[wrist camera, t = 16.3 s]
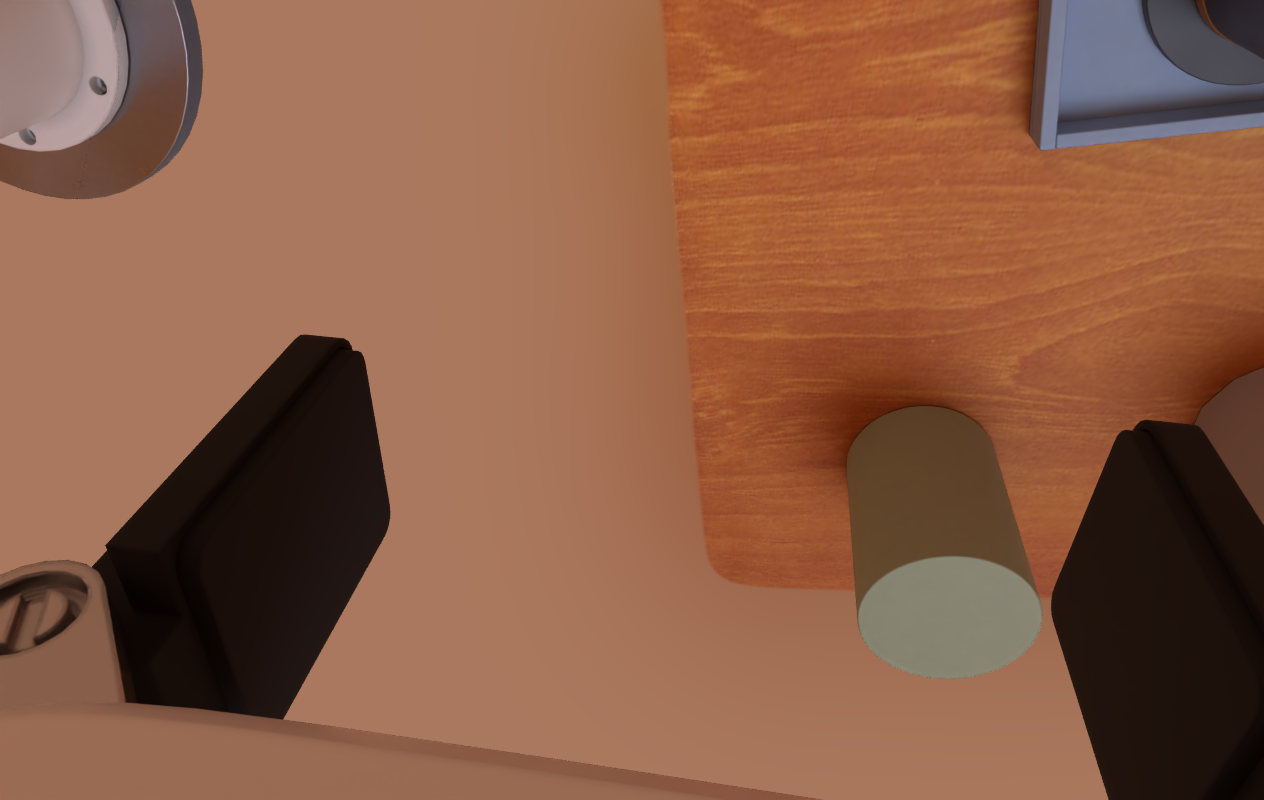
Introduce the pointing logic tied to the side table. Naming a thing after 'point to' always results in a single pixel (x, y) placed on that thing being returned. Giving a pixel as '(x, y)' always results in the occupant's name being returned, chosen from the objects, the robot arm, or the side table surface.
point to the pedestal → (937, 547)
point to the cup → (1240, 433)
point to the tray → (1121, 82)
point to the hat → (1210, 38)
